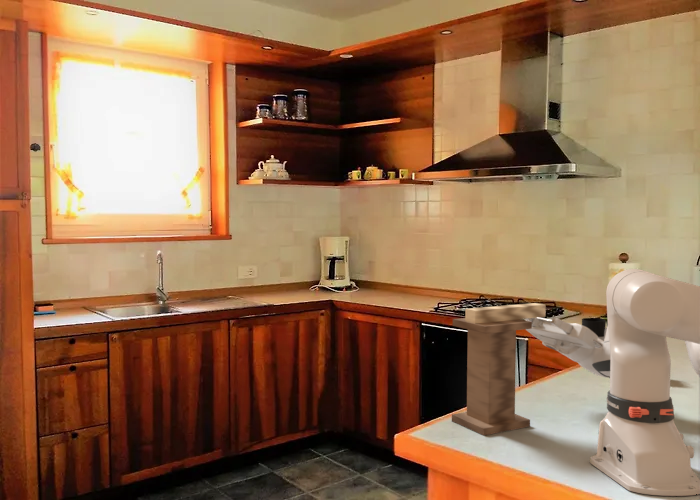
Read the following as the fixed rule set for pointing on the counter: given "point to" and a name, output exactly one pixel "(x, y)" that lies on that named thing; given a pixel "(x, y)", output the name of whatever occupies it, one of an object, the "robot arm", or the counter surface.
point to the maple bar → (504, 313)
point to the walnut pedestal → (491, 377)
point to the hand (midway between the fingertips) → (539, 317)
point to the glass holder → (596, 326)
